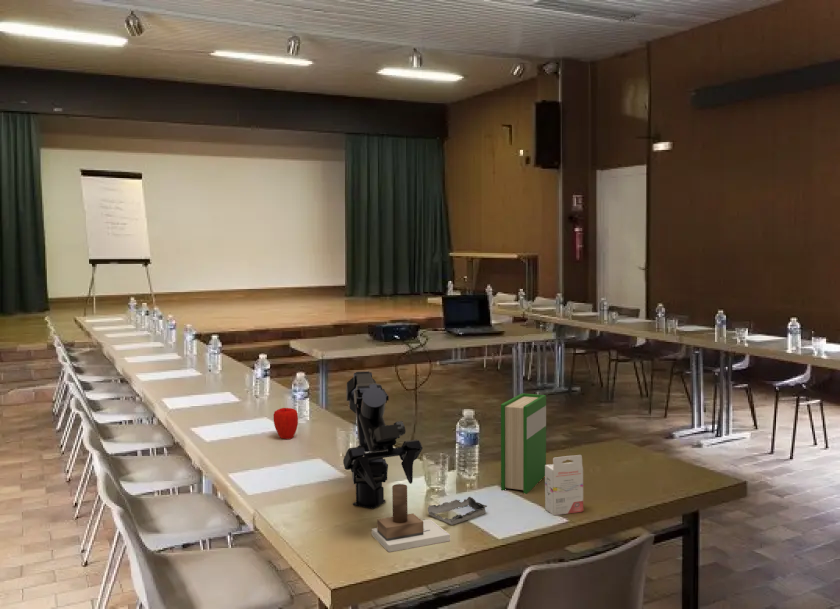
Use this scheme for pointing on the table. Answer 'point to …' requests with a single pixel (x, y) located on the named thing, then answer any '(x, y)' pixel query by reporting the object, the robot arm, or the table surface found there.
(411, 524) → the brown wooden peg block
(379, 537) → the primed board
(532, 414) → the hardback book
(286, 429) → the apple
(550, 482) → the ink cartridge box
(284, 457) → the table surface
